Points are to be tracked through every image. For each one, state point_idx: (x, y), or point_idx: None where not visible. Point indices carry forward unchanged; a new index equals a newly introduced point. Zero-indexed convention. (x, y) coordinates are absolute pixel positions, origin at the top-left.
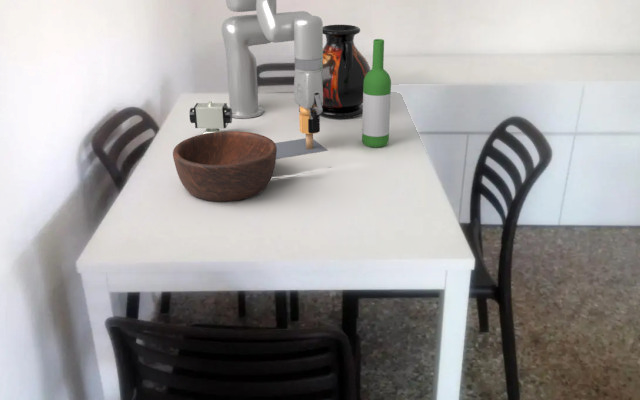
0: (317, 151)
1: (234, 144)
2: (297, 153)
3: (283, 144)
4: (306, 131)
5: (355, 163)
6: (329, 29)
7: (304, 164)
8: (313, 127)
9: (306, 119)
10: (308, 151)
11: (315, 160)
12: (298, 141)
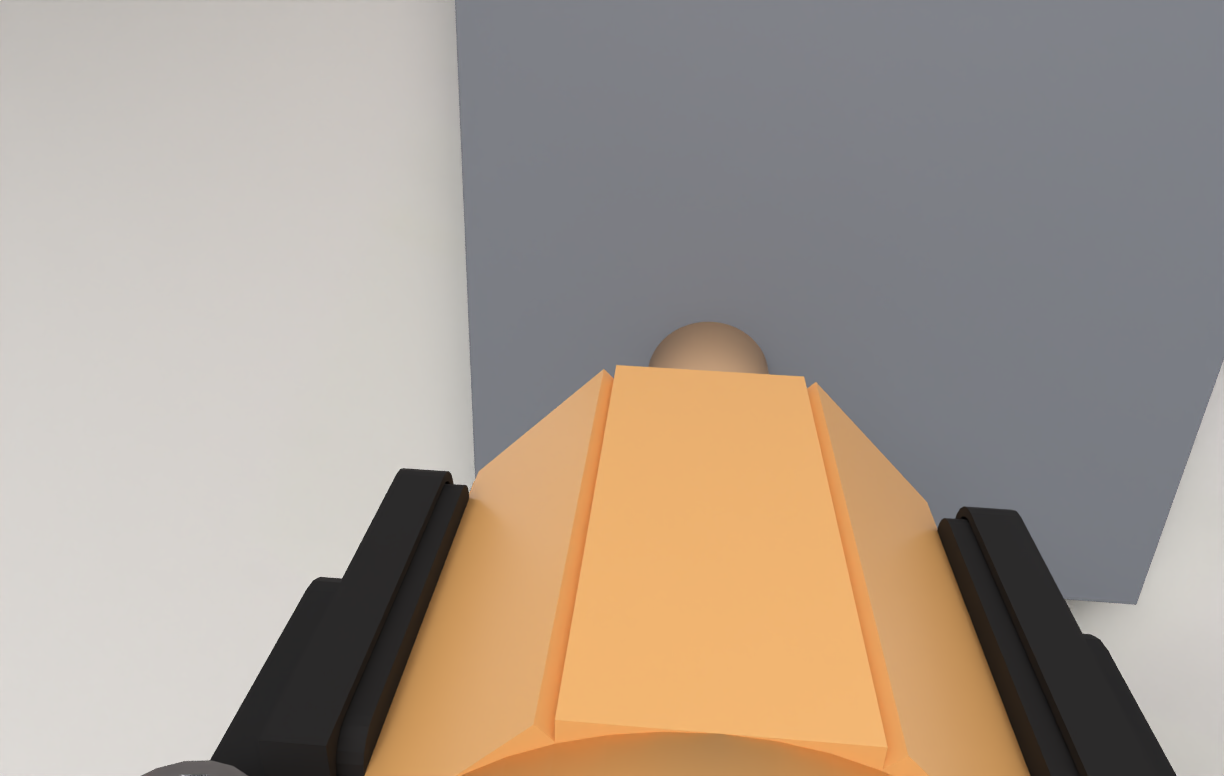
0: (500, 409)
1: None
2: (556, 73)
3: (1168, 36)
4: (527, 458)
5: (91, 624)
6: None
7: (226, 27)
8: (296, 633)
9: (442, 701)
10: (565, 291)
11: (339, 264)
12: (1109, 361)
